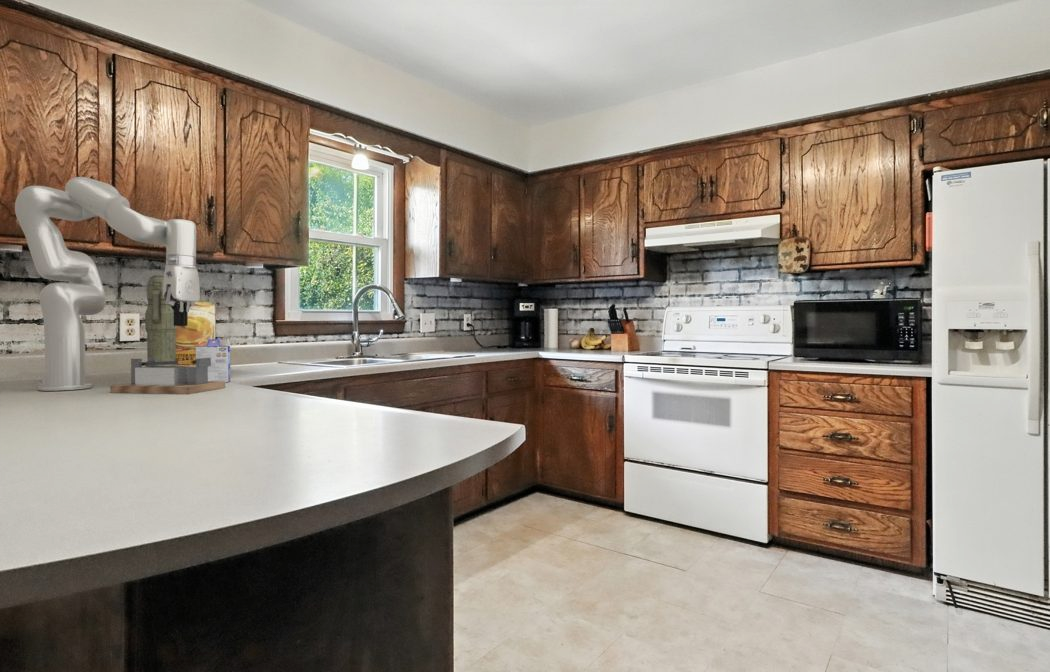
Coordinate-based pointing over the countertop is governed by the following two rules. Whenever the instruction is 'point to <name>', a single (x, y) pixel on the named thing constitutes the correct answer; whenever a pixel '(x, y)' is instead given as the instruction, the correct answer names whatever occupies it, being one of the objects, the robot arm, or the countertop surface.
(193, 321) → the pancake mix bag
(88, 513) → the countertop surface
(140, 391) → the wooden board
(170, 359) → the green stone totem
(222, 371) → the ink cartridge box
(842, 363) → the countertop surface
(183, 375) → the heat sink
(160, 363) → the retention strap
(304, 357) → the countertop surface
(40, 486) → the countertop surface
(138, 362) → the hinge bracket
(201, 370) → the lug
